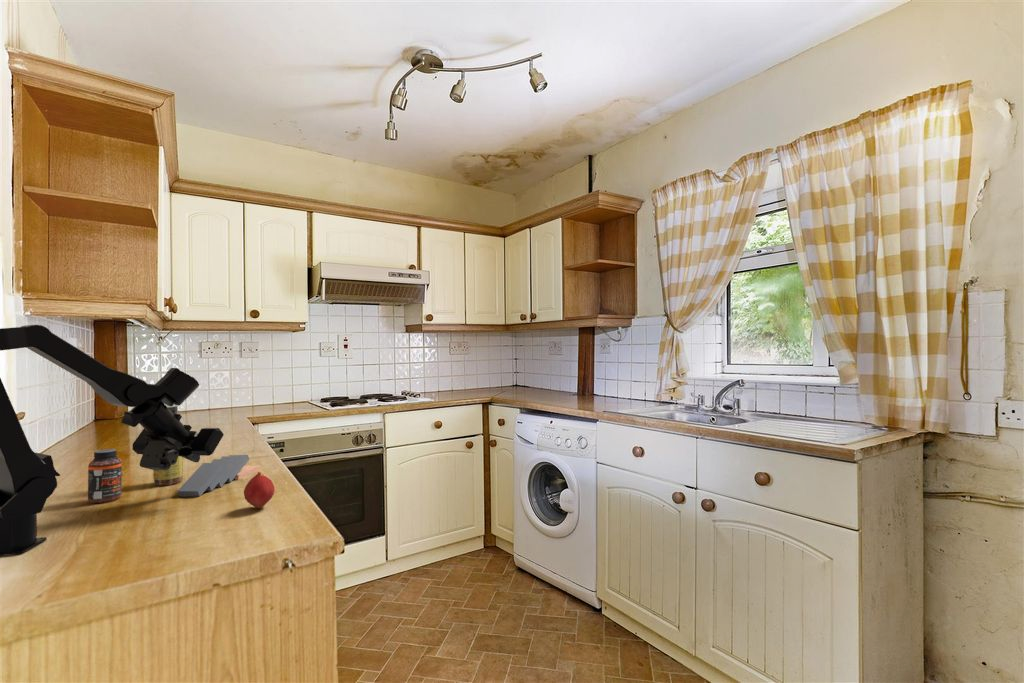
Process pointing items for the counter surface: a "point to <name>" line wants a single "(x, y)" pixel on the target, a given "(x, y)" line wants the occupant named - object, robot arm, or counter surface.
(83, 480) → the counter surface
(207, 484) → the domino
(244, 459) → the domino
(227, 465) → the domino
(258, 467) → the domino
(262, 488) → the onion
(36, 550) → the counter surface
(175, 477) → the sauce bottle
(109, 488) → the supplement bottle
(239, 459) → the domino
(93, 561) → the counter surface
